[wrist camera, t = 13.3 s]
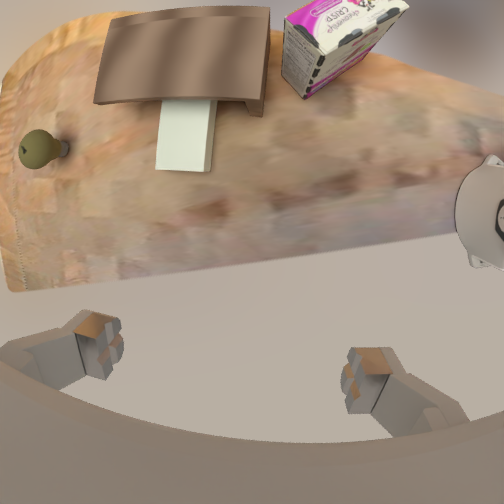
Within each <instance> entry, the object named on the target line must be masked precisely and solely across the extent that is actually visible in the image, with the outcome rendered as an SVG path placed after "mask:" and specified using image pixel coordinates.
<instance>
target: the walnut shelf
mask: <svg viewBox="0 0 504 504" xmlns="http://www.w3.org/2000/svg"><path fill="white" fill-rule="evenodd" d="M269 50H270V7H257V6H202V7H189V8H177V9H168V10H160V11H153V12H147V13H141V14H135V15H130V16H125V17H121V18H116V19H112V20H111V22H110V26H109V29H108V33H107V37H106V41H105V45H104V49H103V53H102V58H101V62H100V67H99V72H98V77H97V83H96V88H95V94H94V101H93V103H94V104H98V105H105V104H115V103H125V102H137V101H154V100H227V101H244V102H245V103H246V106H247V108H248V111H249V114H250V116H255V117H262V115H263V106H264V97H265V87H266V78H267V68H268V59H269Z"/></svg>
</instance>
